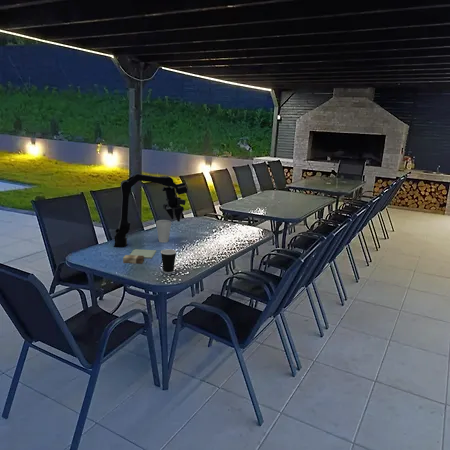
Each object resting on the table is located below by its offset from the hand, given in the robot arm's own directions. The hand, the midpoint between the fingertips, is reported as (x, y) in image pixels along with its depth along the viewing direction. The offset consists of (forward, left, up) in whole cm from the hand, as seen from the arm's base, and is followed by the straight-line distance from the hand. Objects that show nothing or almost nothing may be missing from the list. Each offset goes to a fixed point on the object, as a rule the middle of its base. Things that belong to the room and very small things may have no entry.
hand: (175, 220), depth 250 cm
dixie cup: (+4, -53, -15) cm, 55 cm away
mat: (-15, -27, -15) cm, 34 cm away
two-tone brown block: (-17, -40, -15) cm, 46 cm away
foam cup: (-8, +2, -15) cm, 17 cm away
